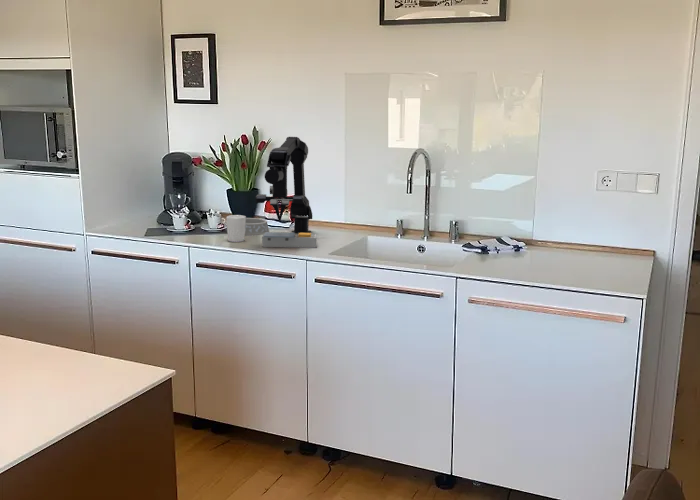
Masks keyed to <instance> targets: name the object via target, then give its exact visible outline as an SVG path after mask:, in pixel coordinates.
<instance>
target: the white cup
mask: <svg viewBox="0 0 700 500" xmlns="http://www.w3.org/2000/svg"><path fill="white" fill-rule="evenodd" d="M225 218H226V229H227V230H226V231H227V240H228V242H233V243H234V242H235V243H238V242H239V243H240V242H244V241H245V239H246V238H245V224H246V218H247V216H246V215H241V214H233V215H227V216H226V217H225Z"/></svg>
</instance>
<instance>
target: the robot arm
mask: <svg viewBox="0 0 700 500" xmlns="http://www.w3.org/2000/svg"><path fill="white" fill-rule="evenodd" d="M308 155H309V147H308V145H307V143H306V142H304V141H303V140H301V139H300V137H298V136H287V137H286V139H285V141H284V142H283V143H282V144H281V145H280V146H279V147H274V148H273V149H272V150H271V151H270V152H269V155H268V160H267V163H266V168H269V169H268V170H267V171H265V173H264V181H265V182H266V183H268V184H270V185H269V196H268V195H267V194H264V193H263V194H262V193H261V194H259V193H257V195H256V196H255V204H264V203H265V202H269V206H272V207H273V209H274V211H275V214H276V217H277V221H282V217H283V214H284V211H285V209H286V207H288V206H289V205H290V210H289V211H290V219H294V223H293V224H294V225H293V227H294V228H293V230H291V233H295V234H299V233H312V230H309V221H310V220H312V219H313V212H312V208H311V205H310V200H309V199H308V198H307V196H306V189H305V188H306V187H305V165H304V164H305V162H306V160H307V159H308ZM290 163H291V165H292V169H293V170H292V173H293V192H294V193H293V196H288V167H289V165H290ZM270 195H272V196H270ZM279 202H281V204H280V207H279ZM290 202H291V203H290Z"/></svg>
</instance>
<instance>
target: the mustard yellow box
mask: <svg viewBox="0 0 700 500" xmlns="http://www.w3.org/2000/svg"><path fill="white" fill-rule="evenodd" d="M297 237H312V232H308V233H297Z"/></svg>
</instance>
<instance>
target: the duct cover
mask: <svg viewBox="0 0 700 500" xmlns="http://www.w3.org/2000/svg"><path fill="white" fill-rule="evenodd" d="M264 237H290V238H294V237H296V233H295V232H280V231H279V232H276V231H272V232H270V231H269V232H265V234H264Z"/></svg>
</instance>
